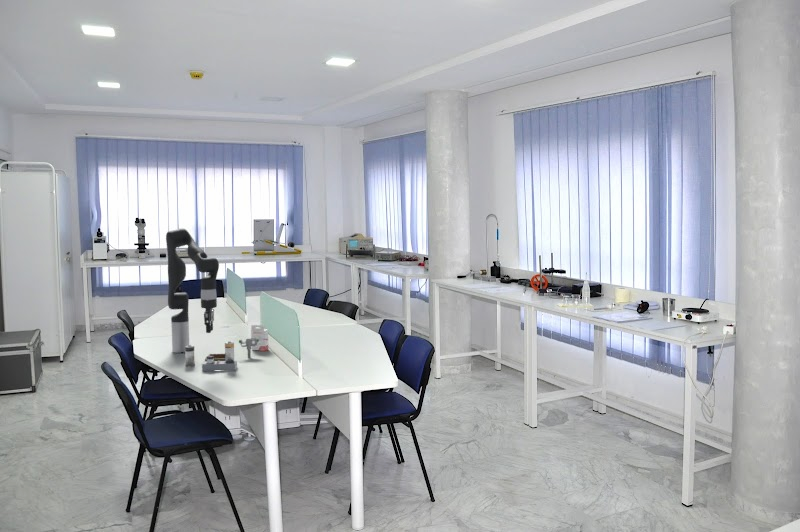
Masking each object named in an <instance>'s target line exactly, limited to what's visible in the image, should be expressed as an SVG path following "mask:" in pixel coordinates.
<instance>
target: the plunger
mask: <svg viewBox="0 0 800 532" xmlns="http://www.w3.org/2000/svg"><path fill="white" fill-rule="evenodd" d="M205 358H207V364H214V356H208V355H207V356H206V357H205Z"/></svg>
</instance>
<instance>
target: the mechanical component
mask: <svg viewBox="0 0 800 532" xmlns="http://www.w3.org/2000/svg"><path fill="white" fill-rule="evenodd" d="M252 341H254V343H252ZM257 342H259V339H257V338H245V341H243V340H242V339H239V340H238V343H239V344H240V346H241V348H246V350H247V358H248V357H250V358H251V356H252V355H251V351H252V346H256V345H257Z"/></svg>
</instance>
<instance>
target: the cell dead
mask: <svg viewBox="0 0 800 532" xmlns="http://www.w3.org/2000/svg"><path fill="white" fill-rule="evenodd" d="M184 353H185V354H184V355H185V367H188V366H190V367H194V366H195V365H196V364H195V363H196V362H195V345H191V344H189V345H188V346H185V352H184Z"/></svg>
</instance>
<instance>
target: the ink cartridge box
mask: <svg viewBox="0 0 800 532" xmlns="http://www.w3.org/2000/svg"><path fill="white" fill-rule="evenodd" d="M250 337H251V338H257V339H259V342H257V345H256V346H251V351H253V350H259V351H258V352H265V351H268V350H269V329H265V325H258V324H256V325H255V324H251V330H250ZM251 338H250V339H251ZM252 343H254V341H252Z"/></svg>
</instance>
